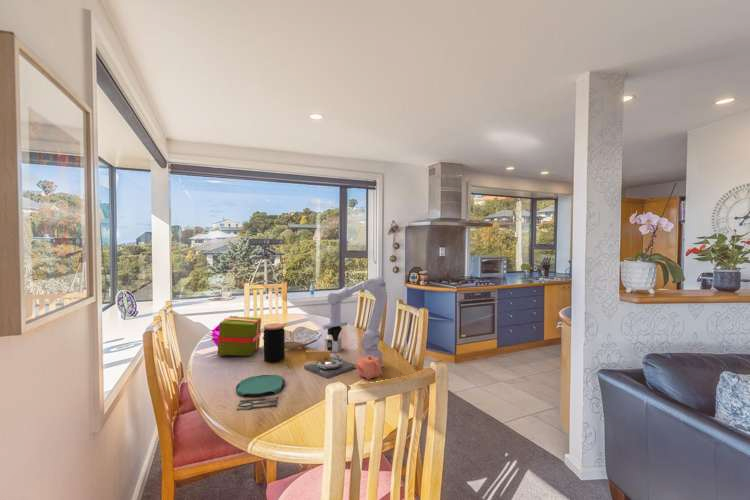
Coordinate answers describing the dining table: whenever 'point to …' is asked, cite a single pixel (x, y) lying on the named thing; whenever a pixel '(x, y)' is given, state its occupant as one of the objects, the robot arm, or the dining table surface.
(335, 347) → the container
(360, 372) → the pumpkin
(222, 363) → the dining table surface
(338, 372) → the base plate
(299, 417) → the dining table surface
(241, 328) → the gift box
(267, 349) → the coffee jar
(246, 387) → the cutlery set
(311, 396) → the dining table surface
